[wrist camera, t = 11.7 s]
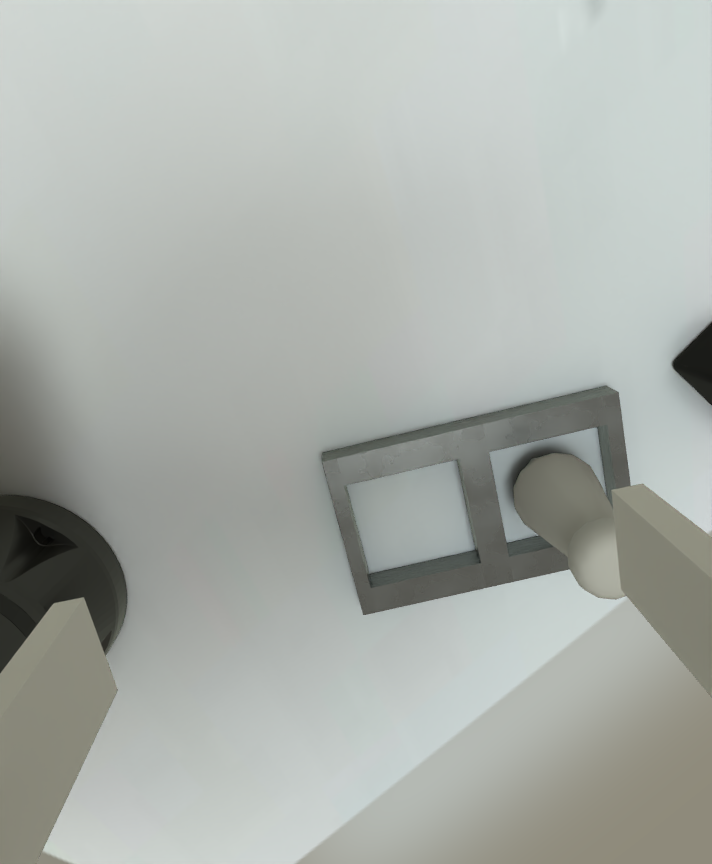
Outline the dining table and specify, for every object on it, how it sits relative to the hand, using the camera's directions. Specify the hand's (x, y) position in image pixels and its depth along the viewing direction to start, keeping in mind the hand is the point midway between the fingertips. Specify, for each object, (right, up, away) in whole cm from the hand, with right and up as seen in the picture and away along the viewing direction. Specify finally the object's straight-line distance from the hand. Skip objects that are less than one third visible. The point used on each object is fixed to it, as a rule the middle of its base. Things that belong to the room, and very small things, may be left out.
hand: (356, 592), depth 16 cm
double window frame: (+9, -1, +31) cm, 32 cm away
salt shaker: (+14, 0, +31) cm, 34 cm away
